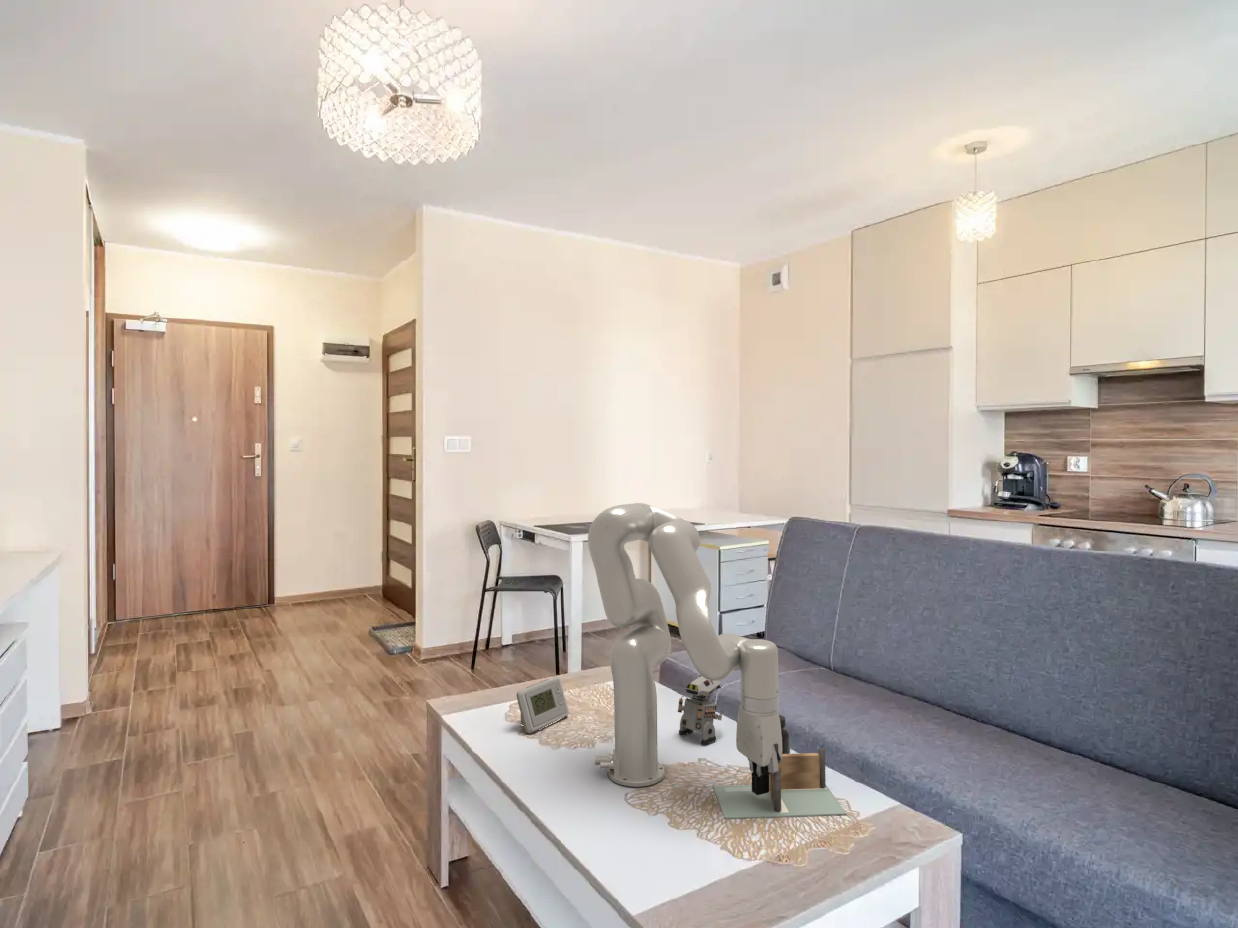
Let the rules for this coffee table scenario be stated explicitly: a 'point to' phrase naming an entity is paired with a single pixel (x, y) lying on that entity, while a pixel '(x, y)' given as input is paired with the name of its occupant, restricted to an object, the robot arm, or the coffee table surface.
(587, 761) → the coffee table surface
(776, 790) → the panel
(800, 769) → the fence fixed panel
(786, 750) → the supplement bottle
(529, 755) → the coffee table surface
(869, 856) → the coffee table surface
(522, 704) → the digital clock
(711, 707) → the figurine
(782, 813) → the board
